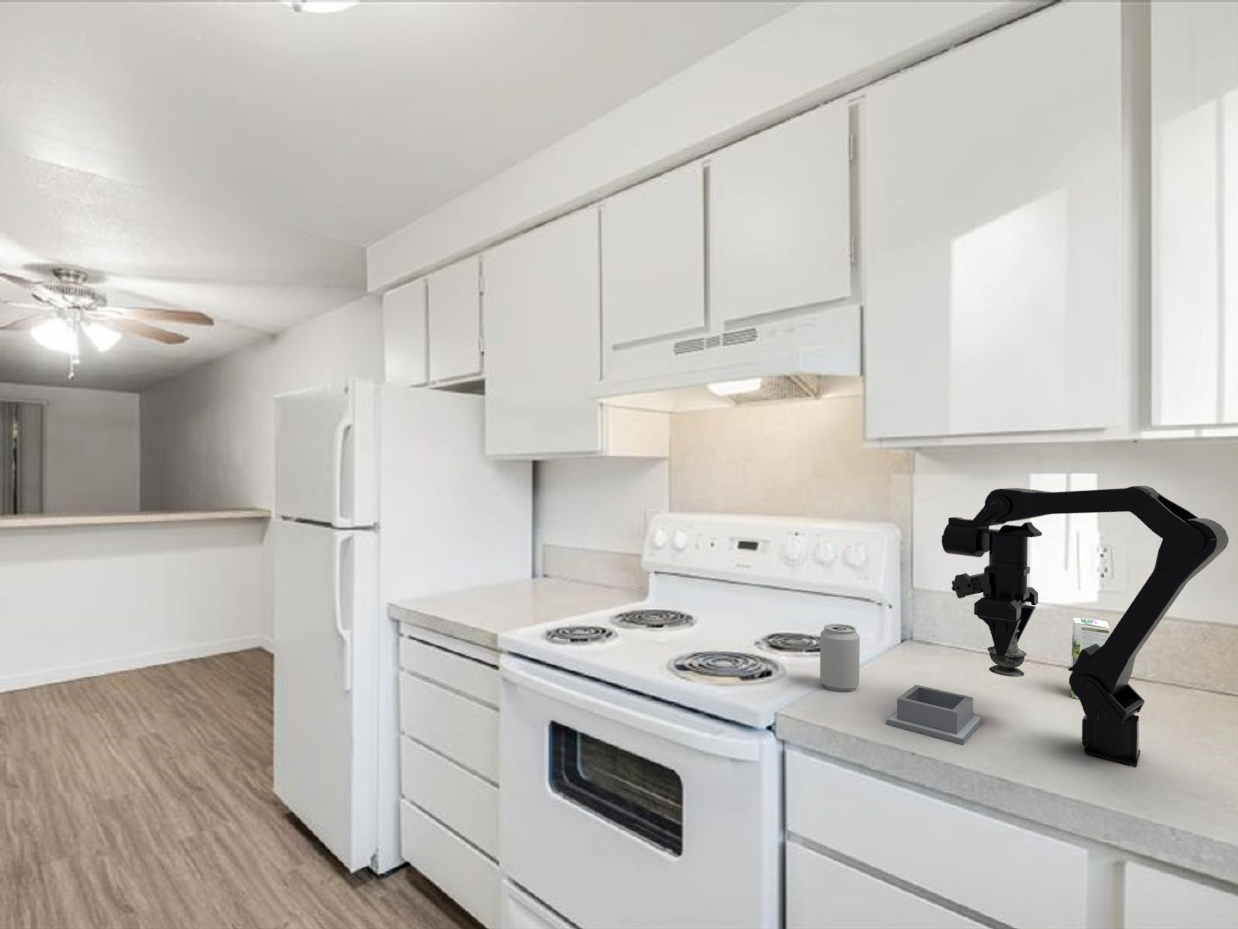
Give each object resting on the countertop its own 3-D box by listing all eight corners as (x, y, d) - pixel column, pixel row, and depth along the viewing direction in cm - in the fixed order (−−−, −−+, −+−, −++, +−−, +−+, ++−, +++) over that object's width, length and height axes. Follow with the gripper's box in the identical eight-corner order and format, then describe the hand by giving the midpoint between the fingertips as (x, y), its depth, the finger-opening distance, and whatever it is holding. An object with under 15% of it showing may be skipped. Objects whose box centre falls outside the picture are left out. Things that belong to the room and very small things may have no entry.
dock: (982, 722, 115) (982, 697, 114) (963, 744, 106) (963, 717, 106) (910, 705, 123) (910, 681, 122) (886, 724, 114) (887, 698, 114)
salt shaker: (1033, 678, 112) (1034, 606, 111) (996, 676, 112) (997, 606, 112) (1015, 667, 117) (1016, 599, 117) (980, 666, 118) (981, 598, 118)
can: (855, 681, 136) (856, 622, 136) (862, 694, 128) (863, 632, 128) (817, 679, 137) (818, 621, 137) (822, 691, 130) (822, 630, 129)
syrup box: (1070, 689, 131) (1070, 616, 131) (1106, 695, 128) (1107, 620, 128) (1072, 698, 126) (1073, 622, 126) (1110, 704, 123) (1111, 626, 123)
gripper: (971, 550, 127) (970, 632, 127) (941, 561, 113) (940, 653, 113) (1039, 557, 119) (1038, 643, 120) (1016, 569, 106) (1015, 667, 106)
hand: (1006, 651), depth 115 cm, fingers closed on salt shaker, 8 cm apart
